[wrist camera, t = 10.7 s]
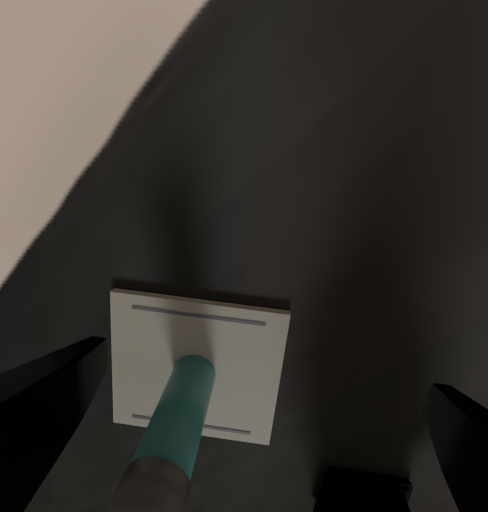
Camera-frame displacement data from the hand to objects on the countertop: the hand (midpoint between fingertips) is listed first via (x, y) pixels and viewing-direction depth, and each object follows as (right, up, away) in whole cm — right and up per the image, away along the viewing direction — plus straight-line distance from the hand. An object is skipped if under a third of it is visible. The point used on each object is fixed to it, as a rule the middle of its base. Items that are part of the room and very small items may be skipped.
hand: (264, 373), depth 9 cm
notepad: (-4, -5, +14) cm, 16 cm away
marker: (-4, -5, +14) cm, 15 cm away
